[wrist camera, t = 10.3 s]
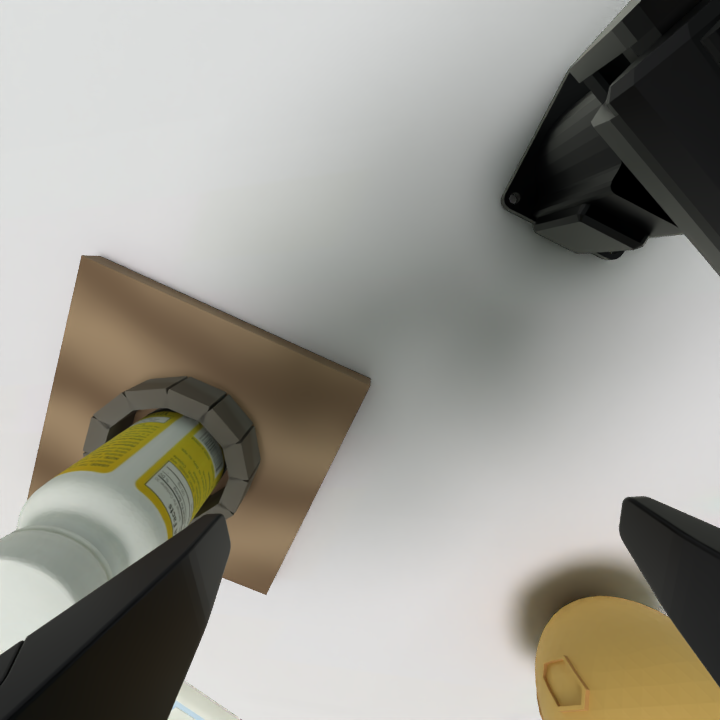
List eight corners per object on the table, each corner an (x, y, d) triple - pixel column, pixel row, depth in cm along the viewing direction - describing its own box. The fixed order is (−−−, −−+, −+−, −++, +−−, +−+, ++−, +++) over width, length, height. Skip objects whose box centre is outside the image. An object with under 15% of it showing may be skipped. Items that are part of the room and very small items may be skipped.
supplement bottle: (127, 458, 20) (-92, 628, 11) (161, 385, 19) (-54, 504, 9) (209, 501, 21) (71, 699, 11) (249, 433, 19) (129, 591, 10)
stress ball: (623, 536, 23) (558, 612, 16) (848, 714, 16) (880, 951, 10) (547, 619, 27) (472, 705, 21) (701, 787, 20) (659, 987, 14)
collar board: (100, 256, 18) (44, 253, 15) (370, 378, 19) (369, 399, 16) (45, 488, 22) (-9, 523, 19) (271, 578, 24) (255, 625, 20)
